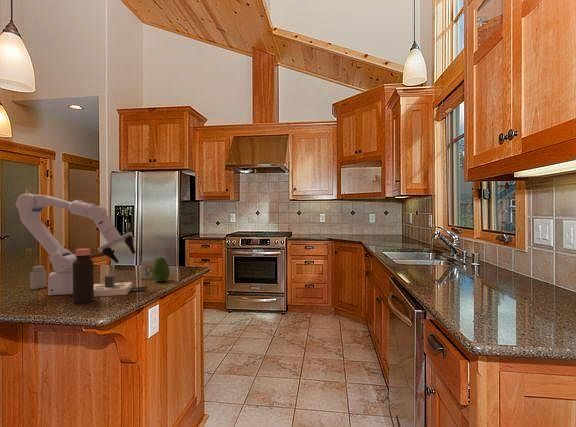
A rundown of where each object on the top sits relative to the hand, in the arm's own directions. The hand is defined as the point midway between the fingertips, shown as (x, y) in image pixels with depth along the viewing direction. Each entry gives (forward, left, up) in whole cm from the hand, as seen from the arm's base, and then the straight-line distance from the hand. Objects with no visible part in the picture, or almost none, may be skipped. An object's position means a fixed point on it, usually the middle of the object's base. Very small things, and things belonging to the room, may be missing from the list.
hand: (126, 258), depth 141 cm
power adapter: (-39, +15, -14) cm, 44 cm away
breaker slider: (-6, -1, -11) cm, 13 cm away
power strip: (-3, -1, -14) cm, 14 cm away
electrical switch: (+6, +25, -14) cm, 29 cm away
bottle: (-12, -14, -14) cm, 23 cm away
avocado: (+12, +14, -14) cm, 23 cm away
